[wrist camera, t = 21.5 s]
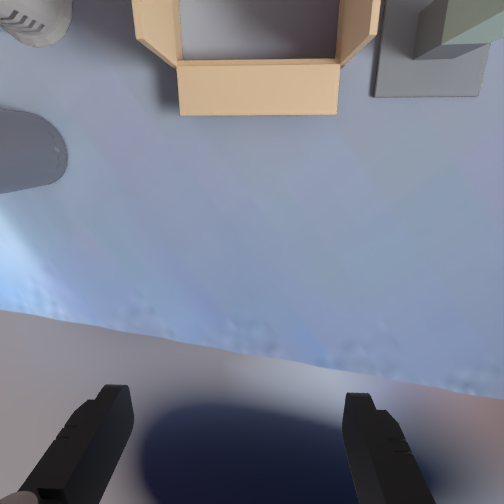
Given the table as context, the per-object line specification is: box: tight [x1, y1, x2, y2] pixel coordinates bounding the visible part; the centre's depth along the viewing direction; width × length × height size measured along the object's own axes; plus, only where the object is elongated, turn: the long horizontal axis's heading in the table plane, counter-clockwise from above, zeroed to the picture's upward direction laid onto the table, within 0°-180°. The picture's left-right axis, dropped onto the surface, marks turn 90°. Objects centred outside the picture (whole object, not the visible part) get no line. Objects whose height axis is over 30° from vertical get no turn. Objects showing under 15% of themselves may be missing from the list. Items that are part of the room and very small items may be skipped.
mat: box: [374, 0, 491, 97], centre depth 34 cm, size 12×12×1 cm
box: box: [413, 0, 504, 60], centre depth 26 cm, size 4×4×16 cm
